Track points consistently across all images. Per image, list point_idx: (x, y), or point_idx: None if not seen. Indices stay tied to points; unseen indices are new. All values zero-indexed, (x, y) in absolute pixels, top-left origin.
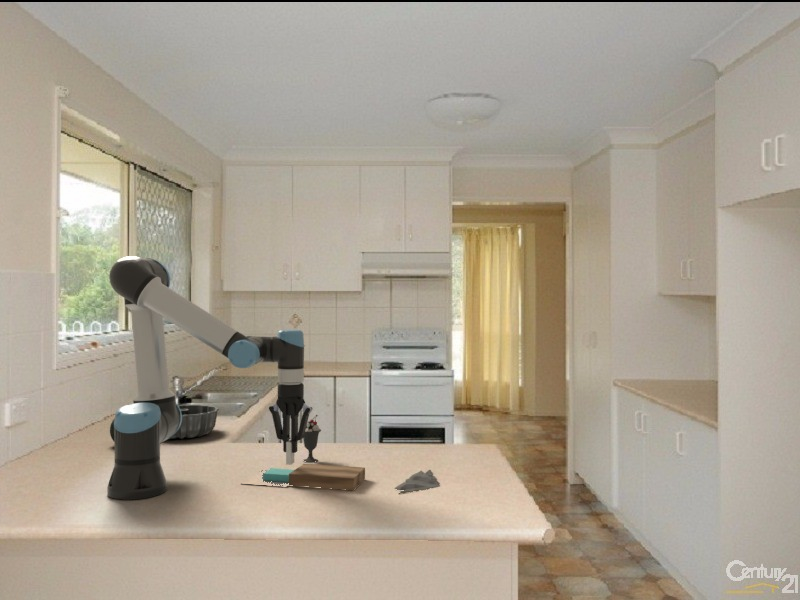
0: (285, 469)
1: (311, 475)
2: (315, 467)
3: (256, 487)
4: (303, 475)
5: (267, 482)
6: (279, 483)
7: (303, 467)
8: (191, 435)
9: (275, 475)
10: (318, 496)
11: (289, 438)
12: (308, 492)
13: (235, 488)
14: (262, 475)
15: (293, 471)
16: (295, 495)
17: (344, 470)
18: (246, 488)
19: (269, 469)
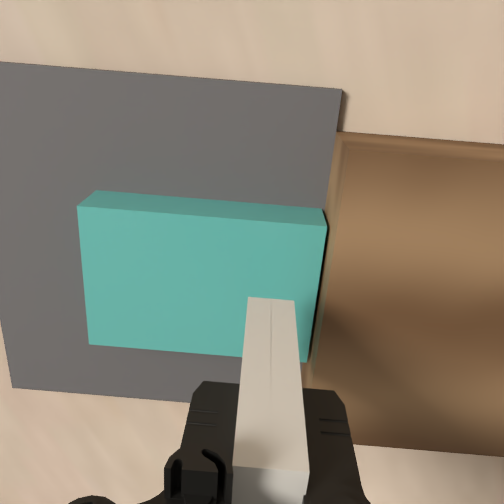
0: (204, 225)
1: (464, 451)
2: (477, 262)
3: (127, 416)
4: (407, 446)
5: (153, 355)
6: (232, 364)
7: (371, 276)
8: None
9: (183, 347)
10: (489, 500)
11: (229, 499)
12: (430, 457)
13: (31, 441)
14: (42, 215)
15: (318, 387)
16: (371, 498)
17: None
18: (85, 435)
19: (81, 245)
